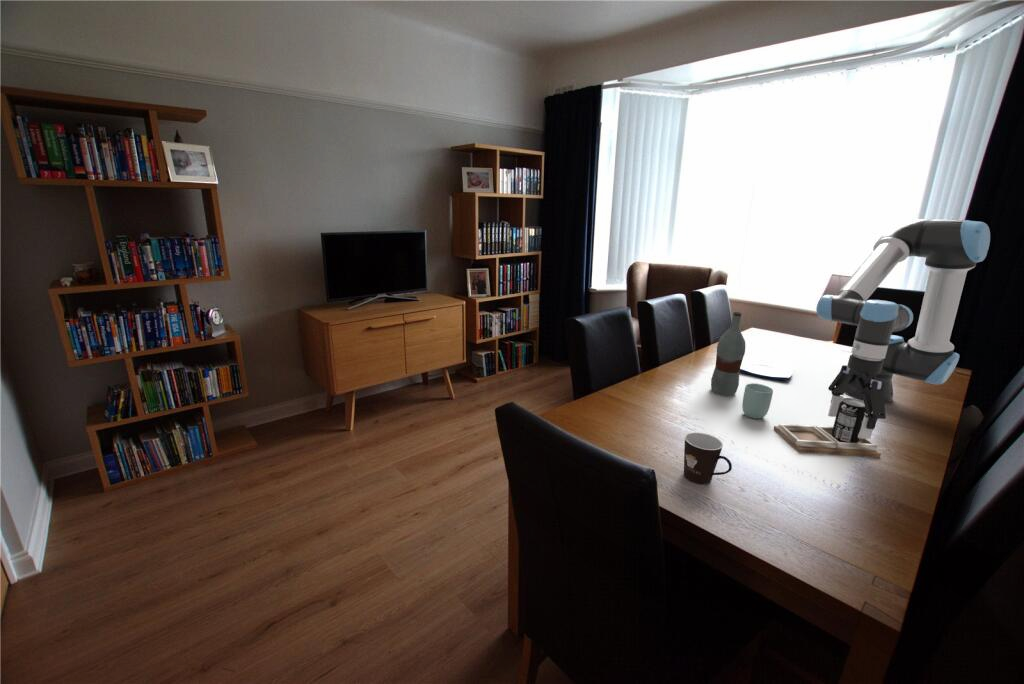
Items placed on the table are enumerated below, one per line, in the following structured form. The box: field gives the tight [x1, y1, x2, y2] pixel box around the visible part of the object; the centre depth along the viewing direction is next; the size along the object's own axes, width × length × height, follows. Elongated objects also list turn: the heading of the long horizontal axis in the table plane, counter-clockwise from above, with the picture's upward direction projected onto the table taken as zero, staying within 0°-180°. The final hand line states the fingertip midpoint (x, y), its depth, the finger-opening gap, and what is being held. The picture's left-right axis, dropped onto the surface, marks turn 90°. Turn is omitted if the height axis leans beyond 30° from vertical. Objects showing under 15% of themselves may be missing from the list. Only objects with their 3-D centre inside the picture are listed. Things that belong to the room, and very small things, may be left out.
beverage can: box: [832, 397, 867, 443], centre depth 131 cm, size 7×7×12 cm
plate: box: [739, 356, 793, 380], centre depth 192 cm, size 20×20×3 cm
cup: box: [741, 382, 774, 420], centre depth 148 cm, size 8×8×10 cm
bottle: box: [710, 311, 746, 397], centre depth 164 cm, size 9×9×30 cm
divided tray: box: [773, 423, 882, 458], centre depth 133 cm, size 22×14×3 cm, turn 87°
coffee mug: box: [683, 432, 733, 485], centre depth 110 cm, size 12×9×10 cm
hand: (848, 426), depth 132 cm, fingers open, 13 cm apart
